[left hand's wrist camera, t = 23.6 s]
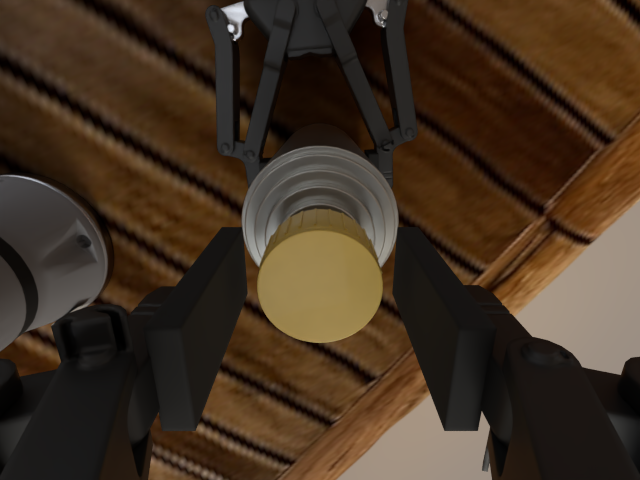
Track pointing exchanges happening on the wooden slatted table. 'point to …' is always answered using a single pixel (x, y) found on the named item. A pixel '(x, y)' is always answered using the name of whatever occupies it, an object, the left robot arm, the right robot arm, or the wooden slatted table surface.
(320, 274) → the cap
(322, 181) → the bottle
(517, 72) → the wooden slatted table surface
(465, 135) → the wooden slatted table surface
